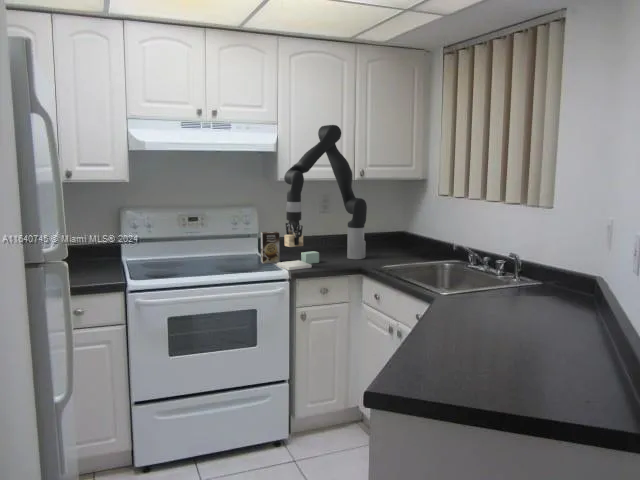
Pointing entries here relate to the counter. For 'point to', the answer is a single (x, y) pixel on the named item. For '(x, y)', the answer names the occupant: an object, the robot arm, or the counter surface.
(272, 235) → the cookie box
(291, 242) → the maple brick
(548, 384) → the counter surface
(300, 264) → the baseplate
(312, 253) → the sage brick
